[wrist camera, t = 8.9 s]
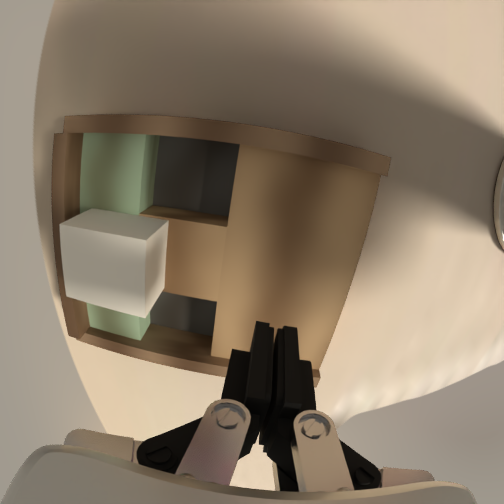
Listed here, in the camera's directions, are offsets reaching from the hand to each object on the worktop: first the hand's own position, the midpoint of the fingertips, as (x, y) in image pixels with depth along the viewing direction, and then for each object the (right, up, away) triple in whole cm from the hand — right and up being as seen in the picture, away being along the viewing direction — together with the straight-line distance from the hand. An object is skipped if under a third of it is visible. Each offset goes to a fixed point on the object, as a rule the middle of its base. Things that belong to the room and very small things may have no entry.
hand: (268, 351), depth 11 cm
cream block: (-9, +4, +8) cm, 13 cm away
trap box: (-4, +4, +11) cm, 12 cm away
